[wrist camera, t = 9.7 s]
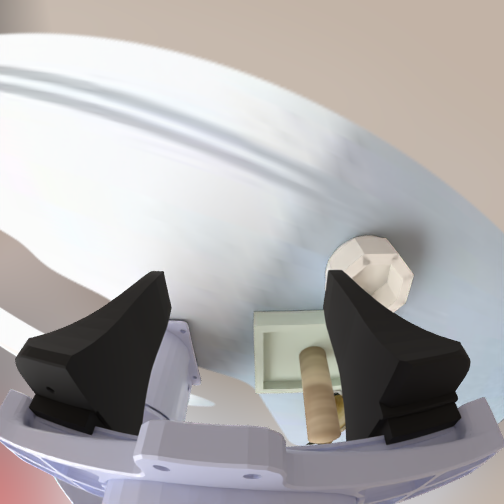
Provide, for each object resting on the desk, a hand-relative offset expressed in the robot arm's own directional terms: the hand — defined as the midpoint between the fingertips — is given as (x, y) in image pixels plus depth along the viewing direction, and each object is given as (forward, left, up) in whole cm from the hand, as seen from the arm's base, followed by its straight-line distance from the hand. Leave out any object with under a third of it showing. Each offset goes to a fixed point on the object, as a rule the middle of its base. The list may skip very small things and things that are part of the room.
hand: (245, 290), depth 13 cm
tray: (-14, -6, -9) cm, 18 cm away
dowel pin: (-14, -6, -9) cm, 17 cm away
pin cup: (-5, -9, -9) cm, 14 cm away
